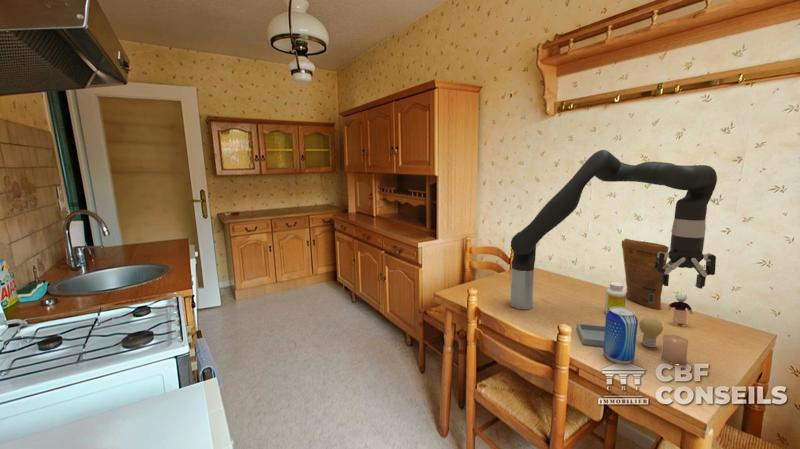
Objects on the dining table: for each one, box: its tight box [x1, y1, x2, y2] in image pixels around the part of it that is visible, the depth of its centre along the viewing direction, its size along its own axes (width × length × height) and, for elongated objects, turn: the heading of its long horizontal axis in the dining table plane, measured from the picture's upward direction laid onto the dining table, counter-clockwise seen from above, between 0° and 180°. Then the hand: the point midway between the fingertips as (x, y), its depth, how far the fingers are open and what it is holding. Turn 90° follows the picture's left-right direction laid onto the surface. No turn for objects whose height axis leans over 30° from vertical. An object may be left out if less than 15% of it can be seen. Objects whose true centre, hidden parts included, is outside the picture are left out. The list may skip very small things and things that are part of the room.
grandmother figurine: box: [666, 292, 694, 328], centre depth 130 cm, size 8×4×13 cm, turn 71°
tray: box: [576, 322, 605, 348], centre depth 122 cm, size 12×12×2 cm
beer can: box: [602, 307, 639, 365], centre depth 109 cm, size 8×8×16 cm
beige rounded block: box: [661, 334, 689, 366], centre depth 107 cm, size 6×6×7 cm
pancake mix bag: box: [621, 238, 670, 310], centre depth 149 cm, size 7×19×28 cm, turn 16°
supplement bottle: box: [604, 281, 626, 314], centre depth 140 cm, size 7×7×13 cm
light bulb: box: [638, 316, 664, 348], centre depth 116 cm, size 6×6×10 cm
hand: (681, 286), depth 104 cm, fingers open, 8 cm apart
